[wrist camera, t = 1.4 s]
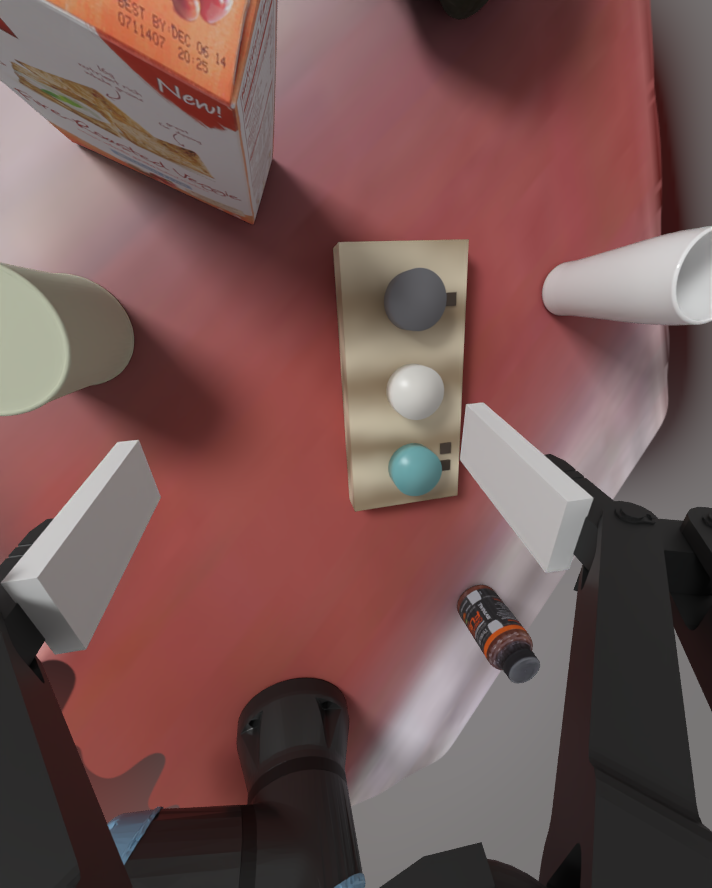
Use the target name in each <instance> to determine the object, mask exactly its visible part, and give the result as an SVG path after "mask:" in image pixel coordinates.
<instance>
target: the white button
mask: <svg viewBox="0 0 712 888" xmlns="http://www.w3.org/2000/svg"><path fill="white" fill-rule="evenodd" d="M386 395H387V399H388V402H389V404H390V405H391V407H392V408H393V409H394V410H395V411H397V412H398V413H399V414H401V415H402V416H403V417H405V418H407V419H411V420H421V419H425V418H427V417H429V416H430V415H432V414H433V413H434V412H435V411H436V410H437V409H438V408H439V406H440V404H441V402H442V400H443V396H444V385H443V381H442V379H441V377H440V376H439V374H438V373H437V372H436V371H435V370H433V369H431V368H429V367H426V366H423V365H420V364H415V363H411V364H406V365H403V366H401V367H399V368H398V369H397V370H396V371H395V372H394V373H393V374H392V375H391V377H390V378H389V381H388V383H387V388H386Z"/></svg>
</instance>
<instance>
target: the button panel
mask: <svg viewBox="0 0 712 888" xmlns="http://www.w3.org/2000/svg"><path fill="white" fill-rule="evenodd" d="M468 242H469V239H467V240H419V241H370V242H338V243H337V244H336V245H335V247H334V248H333V255H334V270H335V285H336V301H337V316H338V331H339V346H340V361H341V377H342V392H343V407H344V422H345V438H346V453H347V468H348V483H349V498H350V501H351V503H352V506H353V508H354V510H355V511H361V510H367V509H373V508H380V507H386V506H392V505H399V504H405V503H411V502H418V501H424V500H430V499H437V498H443V497H449V496H455V495H457V491H458V468H459V446H460V423H461V401H462V378H463V355H464V333H465V310H466V288H467V265H468ZM414 268H426V269H429V270H431V271H433V272H435V273H436V274H437V275H438V276H439V277H440V278H441V280H442V282H443V283H444V286H445V289H446V294H447V301H446V307H445V310H444V313H443V315H442V316H441V318H440V319H439V321H438V322H437V323H436V324H435V325H433V326H432V327H431V328H429V329H426V330H423V331H409V330H403V329H400V328H398V327H396V326H395V325H394V324H393V323H392V322H391V321H390V320H389V318H388V316H387V314H386V312H385V308H384V296H385V292H386V289H387V287H388V285H389V283H390V282H391V280H392V279H393V278H394V277H395V276H397V275H398V274H400V273H402V272H405V271H408V270H411V269H414ZM411 363H415V364H420V365H423V366H426V367H429V368H431V369H433V370H435V371H436V372H437V373H438V374H439V376H440V377H441V379H442V381H443V385H444V396H443V400H442V402H441V404H440V406H439V408H438V409H437V410H436V411H435V412H434V413H433V414H432V415H430V416H429V417H427V418H425V419H421V420H411V419H407V418H405V417H403V416H402V415H401V414H399V413H398V412H397V411H395V410H394V409H393V408H392V407H391V405H390V404H389V402H388V399H387V395H386V388H387V383H388V381H389V378H390V377H391V375H392V374H393V373H394V372H395V371H396V370H397V369H398V368H399V367H401V366H403V365H406V364H411ZM410 443H418V444H422V445H424V446H426V447H427V448H428V449H429V450H431V451H432V452H433V453H434V454H435V455H436V456H437V457H438V458H439V460H440V462H441V465H442V474H441V477H440V480H439V482H438V483H437V485H436V486H435V487H434V488H433V489H432V490H431V491H429V492H428V493H426V494H424V495H420V496H409V495H406V494H404V493H402V492H401V491H400V490H399V489H398V488H397V486H396V485H395V484H394V482H393V481H392V480H391V478H390V476H389V472H388V465H389V461H390V459H391V457H392V455H393V454H394V452H395V451H396V450H397V449H399V448H400V447H402V446H404V445H406V444H410Z"/></svg>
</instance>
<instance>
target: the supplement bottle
mask: <svg viewBox="0 0 712 888" xmlns="http://www.w3.org/2000/svg"><path fill="white" fill-rule="evenodd" d="M457 609H458V612H459V614H460V616H461V618H462V620H463V621H464V623H465V624H466V626H467V628H468V629H469V631H470V632H471V634H472V636H473V637H474V639H475V641H476V642H477V644H478V645H479V647H480V649H481V650H482V652H483V653H484V655H485V656H486V658H487V660H488V661H489V663H490V664H491V665H492V666H493V667H495V668H496V669H499V670H504V672H505V673H506V675H507V676H508V678H509V679H510V680H511V681H512V682H514V683H524V682H526V681H528V680H530V679H532V678H533V677H534V676H535V675H536V674H537V672H538V670H539V668H540V662H539V660H538V659H537V657H536V656H535V655H534V653H533V652H532V647H533V644H532V640H531V637H530V636H529V634H528V633H527V631H526V630H525V629H524V628H523V626H522V625H521V624H520V623H519V621H518V620H517V619H516V618H515V616H514V615H513V614H512V613H511V611H510V610H509V609H508V608H507V606H506V605H505V604H504V603H503V601H502V600H501V599H500V598H499V596H498V595H497V594H496V593H495V592H494V590H493V589H492V588H490V587H488V586H485V585H477V586H474V587H471V588H469V589H468V590H466V591H465V592H464V593H463V594H462V595H461V597H460V599H459V600H458V604H457Z"/></svg>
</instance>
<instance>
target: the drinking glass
mask: <svg viewBox="0 0 712 888" xmlns="http://www.w3.org/2000/svg"><path fill="white" fill-rule="evenodd" d="M542 299H543V303H544V305H545V307H546V308H547V310H548V311H550V312H551V313H553V314H555V315H559V316H578V317H587V318H596V319H604V320H612V321H620V322H628V323H637V324H649V325H694V324H695V325H697V324H704V323H707V322H710V321H712V226H709V227H701V228H695V229H690V230H684V231H679V232H674V233H670V234H665V235H661V236H657V237H654V238H650V239H647V240H643V241H640V242H637V243H633V244H630V245H627V246H623V247H620V248H617V249H614V250H610V251H607V252H603V253H600V254H597V255H593V256H590V257H586V258H583V259H579V260H575V261H569V262H565V263H562V264H560V265H558V266H557V267H555V268H554V269H553V270H552V271H551V272H550V273H549V274H548V276H547V278H546V279H545V282H544V285H543V289H542Z"/></svg>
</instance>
